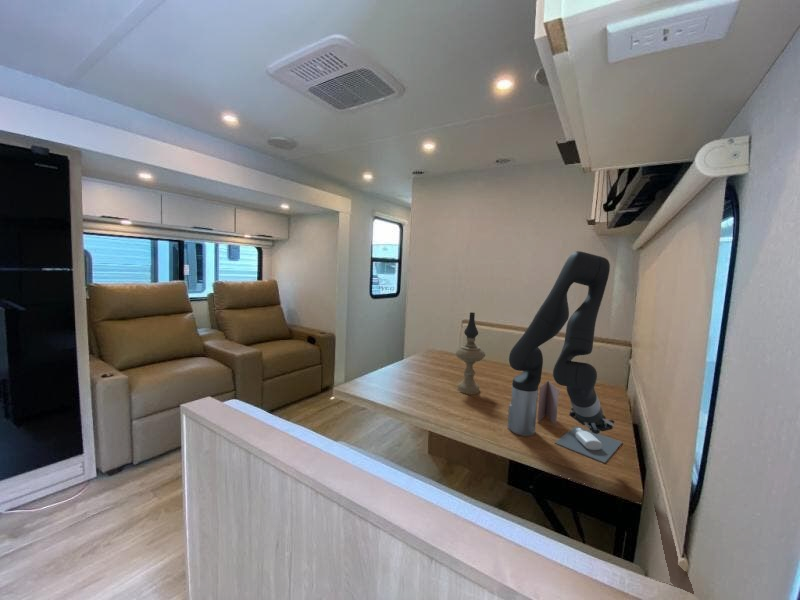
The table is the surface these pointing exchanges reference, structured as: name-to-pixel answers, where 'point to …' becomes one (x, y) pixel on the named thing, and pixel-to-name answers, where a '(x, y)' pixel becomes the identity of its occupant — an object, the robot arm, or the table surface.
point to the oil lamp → (470, 358)
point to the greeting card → (548, 402)
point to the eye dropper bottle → (588, 439)
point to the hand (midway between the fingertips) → (595, 430)
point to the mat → (600, 455)
